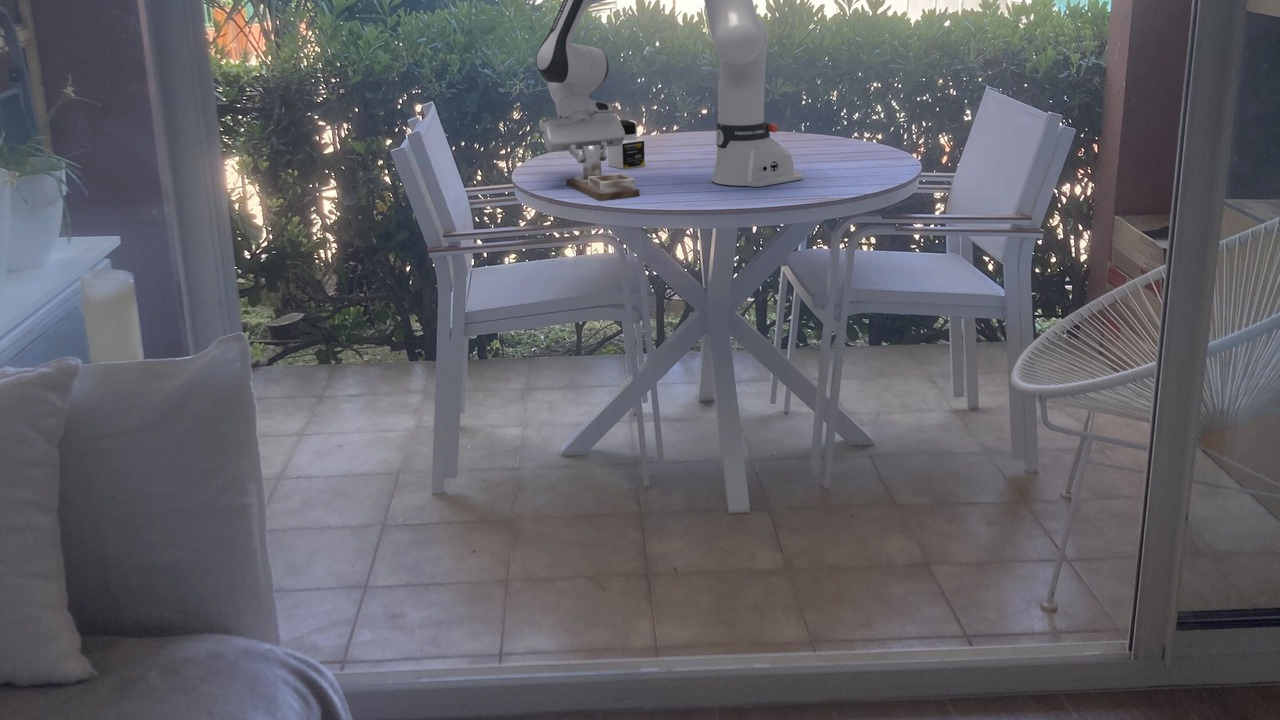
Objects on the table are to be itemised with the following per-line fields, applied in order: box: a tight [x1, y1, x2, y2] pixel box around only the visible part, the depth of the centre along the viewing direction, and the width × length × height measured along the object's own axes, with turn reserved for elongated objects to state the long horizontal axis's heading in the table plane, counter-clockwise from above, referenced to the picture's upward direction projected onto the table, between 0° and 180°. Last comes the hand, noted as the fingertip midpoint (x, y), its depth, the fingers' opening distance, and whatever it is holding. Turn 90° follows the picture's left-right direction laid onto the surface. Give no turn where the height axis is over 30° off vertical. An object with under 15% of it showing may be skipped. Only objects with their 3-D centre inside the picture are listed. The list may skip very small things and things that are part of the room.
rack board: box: [565, 173, 641, 201], centre depth 273 cm, size 10×22×4 cm, turn 24°
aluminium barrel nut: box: [581, 144, 602, 180], centre depth 276 cm, size 4×4×8 cm
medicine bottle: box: [607, 119, 646, 170], centre depth 301 cm, size 7×7×12 cm
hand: (592, 160), depth 276 cm, fingers closed on aluminium barrel nut, 4 cm apart
